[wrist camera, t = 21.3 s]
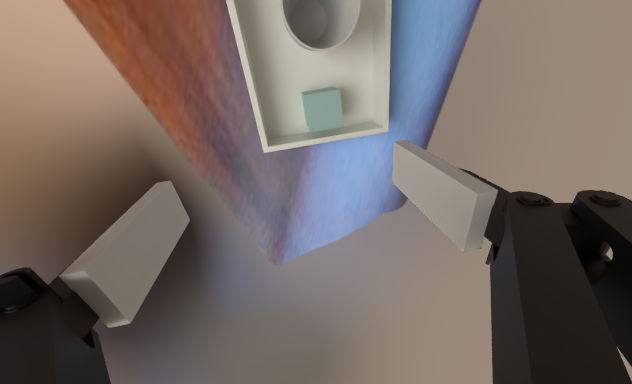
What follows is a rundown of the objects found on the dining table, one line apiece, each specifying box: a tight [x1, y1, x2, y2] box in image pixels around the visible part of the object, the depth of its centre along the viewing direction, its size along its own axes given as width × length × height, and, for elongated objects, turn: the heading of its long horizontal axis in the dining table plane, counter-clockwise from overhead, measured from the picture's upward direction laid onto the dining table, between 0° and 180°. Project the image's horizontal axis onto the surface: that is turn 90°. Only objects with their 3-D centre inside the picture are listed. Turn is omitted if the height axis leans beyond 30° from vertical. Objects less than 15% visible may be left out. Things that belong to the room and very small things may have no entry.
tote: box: [226, 0, 392, 153], centre depth 32 cm, size 22×20×5 cm
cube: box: [301, 87, 343, 132], centre depth 35 cm, size 5×5×5 cm
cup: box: [280, 0, 361, 51], centre depth 27 cm, size 8×8×10 cm
